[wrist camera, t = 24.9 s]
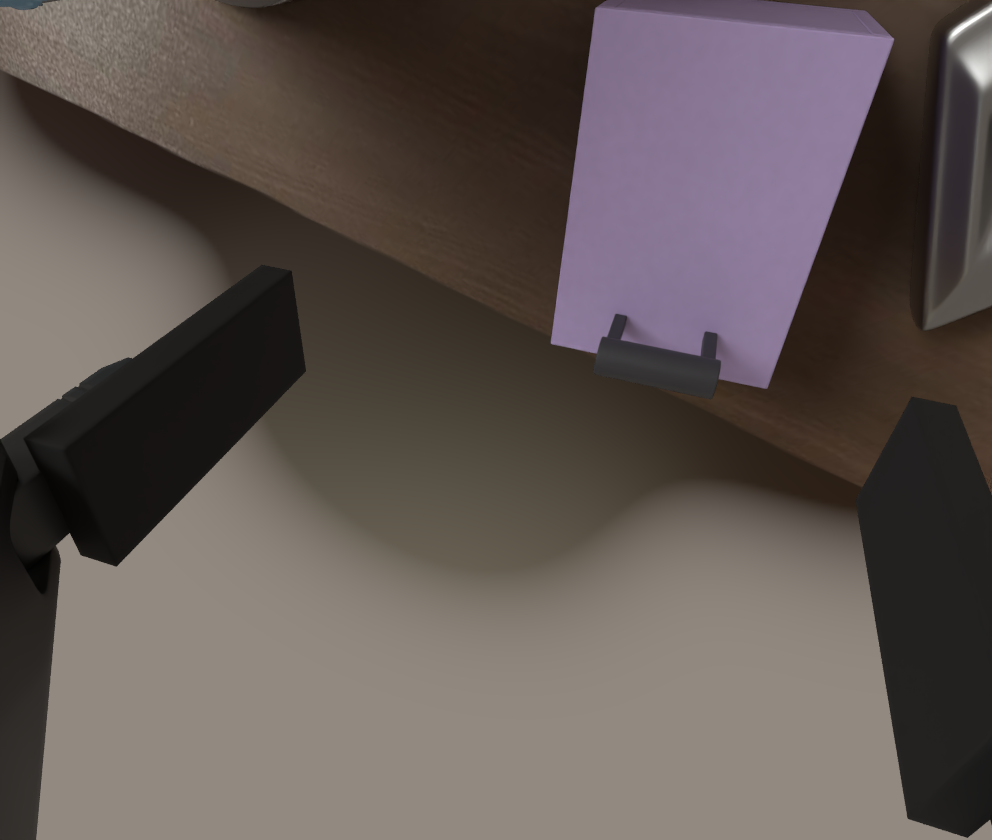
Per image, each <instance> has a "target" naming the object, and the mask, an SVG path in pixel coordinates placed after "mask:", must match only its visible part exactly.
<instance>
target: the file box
mask: <svg viewBox="0 0 992 840" xmlns="http://www.w3.org/2000/svg"><path fill="white" fill-rule="evenodd" d="M599 6H606V7H616V8H625V9H635V10H644V11H654V12H663V13H673V14H682V15H692V16H701V17H711V18H721V19H730V20H740V21H749V22H759V23H768V24H778V25H787V26H797V27H806V28H816V29H825V30H835V31H844V32H854V33H863V34H873V35H883V36H891V35H890V34H889V33H888V32H887V31H886V30H885V29H884V28H883V27H882V26H881V25H880V24H879V23H878V22H877V21H876V20H875V19H874V18H873V17H872V16H871V15H870V14H869V13H868V12H867V11H863V10H853V9H843V8H833V7H823V6H812V5H802V4H792V3H782V2H772V1H762V0H606V1H605V2H603V3H602V4H600V5H599Z"/></svg>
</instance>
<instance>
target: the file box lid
mask: <svg viewBox="0 0 992 840" xmlns="http://www.w3.org/2000/svg"><path fill="white" fill-rule="evenodd" d="M893 43H894V38H892V37H891V36H883V35H873V34H863V33H854V32H844V31H835V30H825V29H816V28H806V27H797V26H787V25H778V24H768V23H759V22H749V21H740V20H730V19H721V18H711V17H701V16H692V15H682V14H673V13H663V12H654V11H644V10H635V9H625V8H616V7H606V6H598V7H596V8H595V14H594V22H593V29H592V37H591V44H590V52H589V59H588V67H587V74H586V82H585V89H584V97H583V105H582V112H581V120H580V127H579V135H578V142H577V150H576V157H575V165H574V172H573V180H572V187H571V195H570V203H569V210H568V218H567V225H566V233H565V240H564V248H563V255H562V263H561V270H560V278H559V285H558V293H557V300H556V308H555V316H554V323H553V331H552V338H551V344H554V345H559V346H564V347H568V348H573V349H578V350H582V351H587V352H592V353H597V355H596V360H595V366H594V374H596V375H600V376H605V377H609V378H614V379H619V380H624V381H628V382H633V383H637V384H642V385H647V386H651V387H656V388H660V389H665V390H670V391H674V392H679V393H684V394H688V395H693V396H698V397H702V398H707V399H712V397H713V395H714V392H715V389H716V386H717V382H718V379H721V380H726V381H731V382H735V383H740V384H745V385H750V386H754V387H759V388H764V389H767V388H768V385H769V383H770V380H771V377H772V374H773V372H774V369H775V366H776V363H777V361H778V358H779V355H780V353H781V350H782V347H783V344H784V342H785V339H786V336H787V333H788V331H789V328H790V325H791V322H792V320H793V317H794V314H795V311H796V309H797V306H798V303H799V300H800V298H801V295H802V292H803V289H804V287H805V284H806V281H807V278H808V276H809V273H810V270H811V268H812V265H813V262H814V259H815V257H816V254H817V251H818V248H819V246H820V243H821V240H822V237H823V235H824V232H825V229H826V226H827V224H828V221H829V218H830V215H831V213H832V210H833V207H834V204H835V202H836V199H837V196H838V194H839V191H840V188H841V185H842V183H843V180H844V177H845V174H846V172H847V169H848V166H849V163H850V161H851V158H852V155H853V152H854V150H855V147H856V144H857V141H858V139H859V136H860V133H861V130H862V128H863V125H864V122H865V120H866V117H867V114H868V111H869V109H870V106H871V103H872V100H873V98H874V95H875V92H876V89H877V87H878V84H879V81H880V78H881V76H882V73H883V70H884V67H885V65H886V62H887V59H888V56H889V54H890V51H891V48H892V45H893Z"/></svg>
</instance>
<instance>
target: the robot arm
mask: <svg viewBox="0 0 992 840" xmlns="http://www.w3.org/2000/svg"><path fill="white" fill-rule="evenodd" d="M52 1H58V0H0V7H12V8H15V9H18V10H28V9H34V8H37V7H38V6H42V5H43V4H42V3H45V2H52ZM216 1H219V2H222V3H225V4H229V5H234V6H240V7H247V8H260V7H268V6H273V5H278V4H282V3H287V2H290V1H292V0H216ZM305 372H306V368H305V361H304V354H303V347H302V340H301V333H300V326H299V319H298V313H297V306H296V298H295V291H294V285H293V277H292V271H290V270H285V269H280V268H275V267H270V266H265V265H261V266H260V267H258V268H257V269H255V270H254V271H253V272H251V273H250V274H249V275H247V276H246V277H244V278H243V279H242V280H240V281H239V282H238V283H236V284H235V285H233V286H232V287H231V288H229V289H228V290H227V291H225V292H224V293H222V294H221V295H220V296H218V297H217V298H215V299H214V300H213V301H211V302H210V303H209V304H207V305H206V306H205V307H203V308H202V309H200V310H199V311H198V312H196V313H195V314H194V315H192V316H191V317H189V318H188V319H187V320H185V321H184V322H182V323H181V324H180V325H178V326H177V327H176V328H174V329H173V330H172V331H170V332H169V333H167V334H166V335H165V336H163V337H162V338H160V339H159V340H158V341H156V342H155V343H154V344H152V345H151V346H149V347H148V348H147V349H145V350H144V351H143V352H141V353H140V354H138V355H137V356H136V357H134V358H133V359H132V358H126V359H123V360H121V361H118V362H116V363H113V364H111V365H108V366H106V367H103V368H101V369H100V370H98V371H97V372H95V373H94V374H92V375H91V376H90V377H88V378H87V379H85V380H84V381H82V382H81V383H80V385H79V387H74V388H73V389H71V390H70V391H68V392H67V393H65V394H64V395H63V396H62V399H61V400H60V399H57V400H56V401H54V402H53V403H51V404H50V405H48V406H47V407H46V408H44V409H43V410H41V411H40V412H39V413H37V414H36V415H34V416H33V417H32V418H30V419H29V420H27V421H26V422H24V423H23V424H22V425H20V426H19V427H17V428H16V429H15V430H13V431H12V432H10V433H9V434H7V435H6V436H5V437H3V438H2V439H0V840H36V834H37V823H38V811H39V800H40V789H41V777H42V765H43V754H44V743H45V732H46V720H47V710H48V698H49V687H50V686H49V685H50V676H51V664H52V653H53V642H54V631H55V619H56V608H57V596H58V585H59V574H60V563H61V560H60V555H59V551H58V549H57V547H56V545H57V544H58V543H59V542H60V541H61V540H62V539H63V538H64V537H65V536H66V535H68V534H69V533H70V534H71V536H72V538H73V540H74V542H75V544H76V546H77V548H78V550H79V552H80V554H81V555H82V556H85V557H88V558H91V559H94V560H98V561H101V562H104V563H107V564H110V565H113V566H118V565H119V563H120V562H121V561H122V560H123V559H124V558H125V557H126V556H127V555H128V554H129V553H130V552H131V551H132V550H133V549H134V548H135V547H136V546H137V545H138V544H139V543H140V542H141V541H142V540H143V539H144V538H145V537H146V536H147V535H148V534H149V533H150V532H151V531H152V529H153V528H154V527H155V526H156V525H157V524H158V523H159V522H160V521H161V520H162V519H163V518H164V517H165V516H166V515H167V514H168V513H169V512H170V511H171V510H172V509H173V508H174V507H175V506H176V505H177V504H178V503H179V502H180V501H181V500H182V499H183V497H184V496H185V495H186V494H187V493H188V492H189V491H190V490H191V489H192V488H193V487H194V486H195V485H196V484H197V483H198V482H199V481H200V480H201V479H202V478H203V477H204V476H205V475H206V474H207V473H208V472H209V471H210V469H212V468H213V467H214V466H215V464H216V463H217V462H218V461H219V460H220V459H221V458H222V457H223V456H224V455H225V454H226V453H227V452H228V451H229V450H230V449H231V448H232V447H233V446H234V445H235V444H236V443H237V442H238V441H239V440H240V439H241V438H242V437H243V436H244V434H245V433H246V432H247V431H248V430H249V429H250V428H251V427H252V426H253V425H254V424H255V423H256V422H257V421H258V420H259V419H260V418H261V417H262V416H263V415H264V414H265V413H266V412H267V411H268V410H269V409H270V408H271V407H272V406H273V405H274V403H275V402H277V400H278V399H279V398H280V397H281V396H282V395H283V394H284V393H285V392H286V391H287V390H288V389H289V388H290V387H291V386H292V385H293V384H294V383H295V382H296V381H297V380H298V379H299V378H300V377H301V376H302V375H303V374H304V373H305ZM856 505H857V511H858V517H859V524H860V530H861V536H862V542H863V548H864V554H865V560H866V566H867V572H868V579H869V584H870V591H871V597H872V603H873V609H874V615H875V621H876V628H877V634H878V640H879V646H880V652H881V658H882V664H883V670H884V677H885V683H886V689H887V695H888V701H889V707H890V713H891V719H892V726H893V732H894V738H895V744H896V750H897V756H898V762H899V768H900V775H901V780H902V787H903V793H904V799H905V805H906V811H907V817H908V819H910V820H913V821H917V822H920V823H923V824H926V825H929V826H933V827H935V828H938V829H942V830H945V831H948V832H951V833H954V834H957V835H960V836H964V837H967V838H968V837H969V836H970V835H972V834H973V833H974V832H975V831H977V830H978V829H979V828H980V827H981V826H983V825H984V824H985V823H986V822H988V821H989V820H991V824H992V495H991V493H990V490H989V488H988V485H987V483H986V480H985V478H984V475H983V473H982V470H981V468H980V465H979V462H978V460H977V457H976V455H975V452H974V450H973V447H972V445H971V442H970V440H969V437H968V435H967V432H966V430H965V427H964V424H963V422H962V419H961V417H960V414H959V412H958V409H957V407H956V406H955V405H950V404H945V403H940V402H935V401H930V400H925V399H920V398H915V397H912V398H911V400H910V401H909V403H908V405H907V407H906V409H905V411H904V412H903V414H902V416H901V418H900V420H899V422H898V423H897V425H896V427H895V429H894V431H893V433H892V434H891V436H890V438H889V440H888V442H887V444H886V445H885V447H884V449H883V451H882V453H881V455H880V456H879V458H878V460H877V462H876V464H875V466H874V468H873V469H872V471H871V473H870V475H869V477H868V479H867V480H866V482H865V484H864V486H863V488H862V490H861V491H860V493H859V495H858V497H857V499H856Z"/></svg>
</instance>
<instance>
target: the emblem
mask: <svg viewBox="0 0 992 840" xmlns="http://www.w3.org/2000/svg"><path fill="white" fill-rule="evenodd" d="M990 307H992V0H970V1H968V2H967V3H965V4H964V5H962V6H960V7H959V8H957V9H956V10H954V11H953V12H951V13H950V14H948V15H947V16H946V17H944V18H943V19H942V20H941V21H939V22H938V24H937V25H936V26H935V28H934V29H933V32H932V35H931V40H930V47H929V57H928V68H927V80H926V93H925V106H924V119H923V131H922V144H921V157H920V169H919V182H918V195H917V208H916V220H915V233H914V245H913V258H912V271H911V284H910V308H911V314H912V317H913V320H914V322H915V324H916V326H917V327H918V328H919V329H920V330H922V331H928V330H932V329H935V328H938V327H941V326H944V325H946V324H949V323H952V322H954V321H957V320H959V319H962V318H964V317H967V316H969V315H972V314H974V313H977V312H980V311H982V310H985V309H987V308H990Z"/></svg>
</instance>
